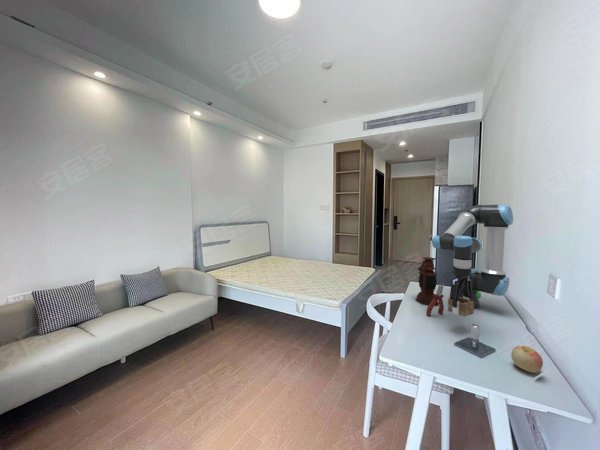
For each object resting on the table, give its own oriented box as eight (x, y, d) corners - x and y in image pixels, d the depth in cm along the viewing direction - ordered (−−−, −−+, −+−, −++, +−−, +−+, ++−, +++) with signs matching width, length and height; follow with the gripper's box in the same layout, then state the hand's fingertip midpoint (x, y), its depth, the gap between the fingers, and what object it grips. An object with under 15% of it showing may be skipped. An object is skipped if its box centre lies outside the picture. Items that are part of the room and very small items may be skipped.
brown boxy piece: (457, 307, 127) (457, 296, 126) (473, 313, 120) (474, 301, 119) (447, 310, 123) (448, 299, 123) (464, 316, 116) (464, 304, 116)
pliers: (436, 284, 133) (432, 282, 135) (428, 317, 137) (424, 314, 139) (450, 283, 137) (446, 281, 139) (443, 314, 141) (439, 312, 143)
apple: (527, 362, 97) (528, 343, 96) (549, 377, 88) (550, 356, 87) (504, 361, 97) (505, 342, 97) (523, 376, 88) (525, 355, 88)
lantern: (434, 309, 148) (436, 261, 146) (411, 303, 158) (412, 258, 156) (442, 301, 161) (443, 257, 159) (420, 296, 170) (421, 254, 169)
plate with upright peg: (468, 339, 114) (469, 318, 113) (495, 351, 104) (496, 328, 104) (454, 344, 109) (455, 323, 108) (481, 358, 99) (482, 334, 99)
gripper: (466, 263, 128) (464, 304, 130) (441, 268, 118) (440, 313, 120) (482, 266, 121) (480, 309, 123) (457, 271, 112) (456, 319, 113)
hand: (460, 311), depth 122 cm, fingers closed on brown boxy piece, 8 cm apart
